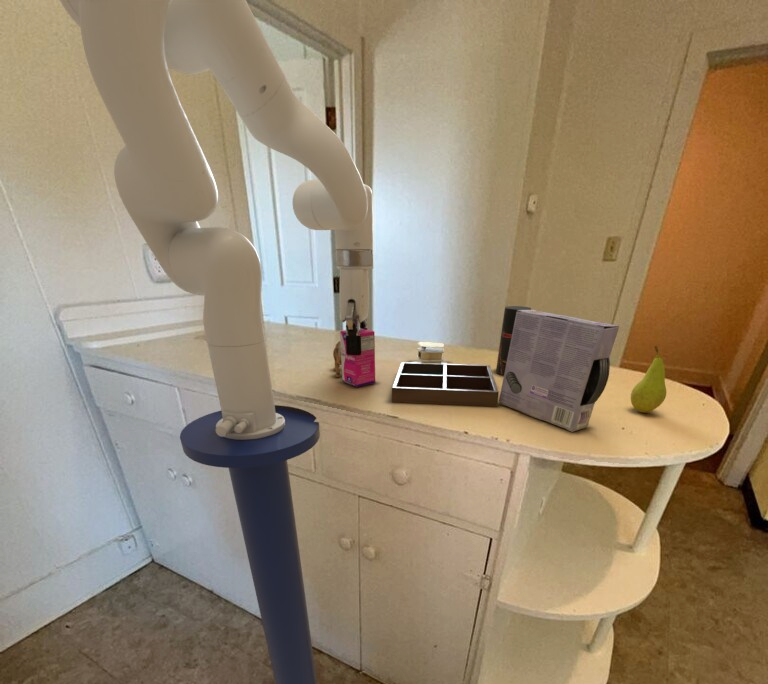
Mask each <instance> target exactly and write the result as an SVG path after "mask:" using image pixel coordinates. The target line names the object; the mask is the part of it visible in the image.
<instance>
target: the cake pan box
mask: <svg viewBox="0 0 768 684" xmlns="http://www.w3.org/2000/svg"><path fill="white" fill-rule="evenodd" d="M619 329H620V327H619V325H617V324H611V323H605V322H599V321H593V320H589V319H583V318H579V317H574V316H570V315H563V314H556V313H552V312H545V311H540V310H536V309H531V310H517V313H516V318H515V323H514V328H513V333H512V338H511V343H510V348H509V353H508V358H507V363H506V368H505V373H504V375H503V379H502V384H501V388H500V389H501V390H500V392H499V393H500V394H499V397H498V404H500V405H502V406H505V407H508V408H511V409H513V410H516V411H518V412H520V413H523V415H527V416H530V417H532V418H535V419H537V420H539V421H544V422H546V423H549V424H552V425H555V426H557V427H560V428H562V429H565V430H567V431H568V432H571V433H574V432H577V431H580V430H584V429H586V428H588V427H589V423H590V420H591V417H592V413H593V410H594V407H595V404H596V403H597V401H598V400H599V399H600V398H601V396H602V394H603V392H604V391H605V389H606V386H607V384H608V381H609V377H610V370H611V369H610V368H611V361H610V357H611V353H612V351H613V348H614V344H615V342H616V338H617V336H618V332H619Z"/></svg>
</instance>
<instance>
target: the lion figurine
mask: <svg viewBox="0 0 768 684" xmlns="http://www.w3.org/2000/svg"><path fill="white" fill-rule="evenodd" d="M332 355H333V357H332V358H333V360H334V367H333V369H332V370H333V371H335V375H334V376H335V378H340V377H341V371H340V366H342V363H341V344H340V340H339V341H338V342H337V343H336V344H335V347H334V349H333V352H332Z"/></svg>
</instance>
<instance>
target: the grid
mask: <svg viewBox="0 0 768 684" xmlns="http://www.w3.org/2000/svg"><path fill="white" fill-rule="evenodd" d="M499 393H500V392H499V389H498V386H497V383H496V379H495V377H494V374H493V372H492V368H491V366H490V364H465V363H460V364H459V363H448V364H435V363H411V362H404V361H403V362H401V363H400V365H399V368H398V370H397V374H396V375H395V379H394V381H393V384H392V387H391V403H401V404H403V403H404V404H426V405H448V406H469V407H470V406H471V407H494V408H495V407H496V408H497V406H498V401H499V395H500V394H499Z"/></svg>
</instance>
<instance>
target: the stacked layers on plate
mask: <svg viewBox="0 0 768 684" xmlns="http://www.w3.org/2000/svg"><path fill="white" fill-rule="evenodd" d="M417 345H418V346H420V347H416V350H417V353H418V354H417V356H416V358H417V359H418V360H419V361H415V360H414V361H413V360H412V361H410V363H435V364H449V362H447V361H444V356H443V354H444V352H445V350H444V348H442V347H445V343H442V342H431V341H419V342H417Z"/></svg>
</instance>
